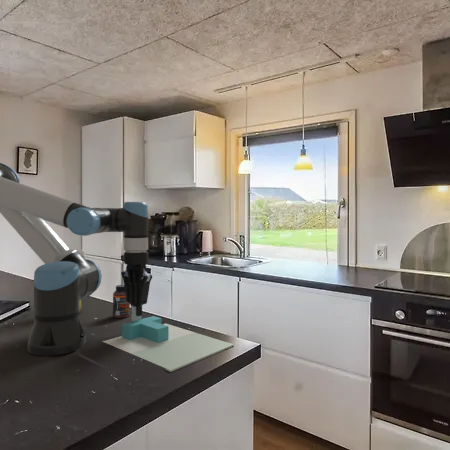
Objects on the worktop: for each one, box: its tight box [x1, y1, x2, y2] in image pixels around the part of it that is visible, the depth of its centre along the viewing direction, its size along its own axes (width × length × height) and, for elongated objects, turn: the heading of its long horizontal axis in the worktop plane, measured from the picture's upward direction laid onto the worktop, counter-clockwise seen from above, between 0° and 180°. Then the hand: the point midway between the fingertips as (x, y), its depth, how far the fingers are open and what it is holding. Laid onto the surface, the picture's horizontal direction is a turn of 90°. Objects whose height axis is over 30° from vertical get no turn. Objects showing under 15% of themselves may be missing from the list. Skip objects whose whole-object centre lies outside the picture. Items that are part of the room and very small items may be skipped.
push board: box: [102, 323, 235, 373], centre depth 112 cm, size 24×30×1 cm
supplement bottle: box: [112, 284, 131, 319], centre depth 140 cm, size 6×6×11 cm
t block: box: [121, 315, 169, 343], centre depth 117 cm, size 12×12×4 cm
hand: (136, 325), depth 122 cm, fingers closed
